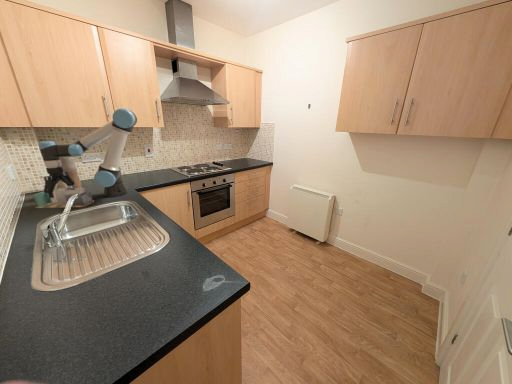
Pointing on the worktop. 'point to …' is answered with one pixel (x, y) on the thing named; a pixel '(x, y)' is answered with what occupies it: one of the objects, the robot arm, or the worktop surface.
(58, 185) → the coffee box
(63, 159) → the vase
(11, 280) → the worktop surface
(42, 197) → the socket
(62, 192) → the tube
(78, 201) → the sleeve
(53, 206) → the board
